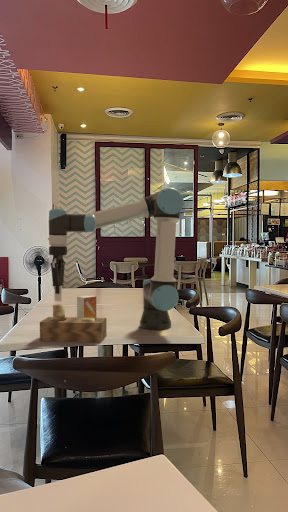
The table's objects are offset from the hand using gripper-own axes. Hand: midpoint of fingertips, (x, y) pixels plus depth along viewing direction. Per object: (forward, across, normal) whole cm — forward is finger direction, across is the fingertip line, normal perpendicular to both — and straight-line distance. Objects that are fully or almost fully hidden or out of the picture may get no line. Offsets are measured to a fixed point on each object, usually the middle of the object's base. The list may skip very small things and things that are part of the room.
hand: (58, 301), depth 172 cm
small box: (+16, -36, +4) cm, 39 cm away
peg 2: (+16, 0, +13) cm, 20 cm away
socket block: (+16, 0, +7) cm, 17 cm away
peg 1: (+10, 0, 0) cm, 10 cm away
